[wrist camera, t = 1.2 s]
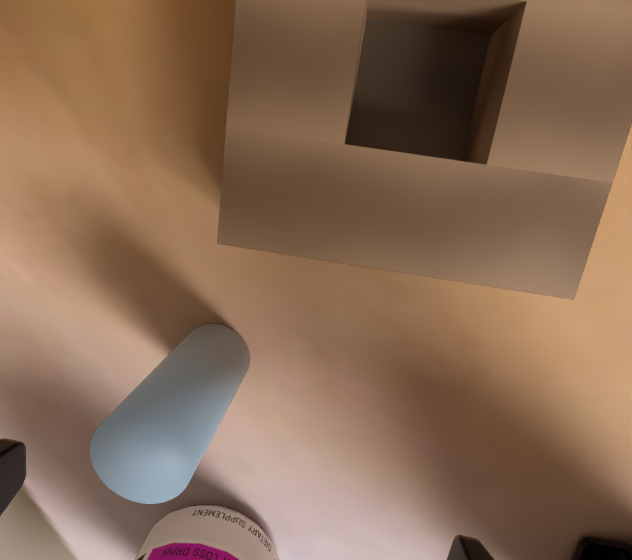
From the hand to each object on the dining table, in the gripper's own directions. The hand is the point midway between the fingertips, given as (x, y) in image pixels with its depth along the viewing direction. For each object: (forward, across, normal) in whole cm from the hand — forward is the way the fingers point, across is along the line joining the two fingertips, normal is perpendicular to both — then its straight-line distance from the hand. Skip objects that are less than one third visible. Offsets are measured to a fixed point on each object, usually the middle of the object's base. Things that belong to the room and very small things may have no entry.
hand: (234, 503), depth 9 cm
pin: (+13, +4, +4) cm, 14 cm away
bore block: (+13, -3, -10) cm, 16 cm away
